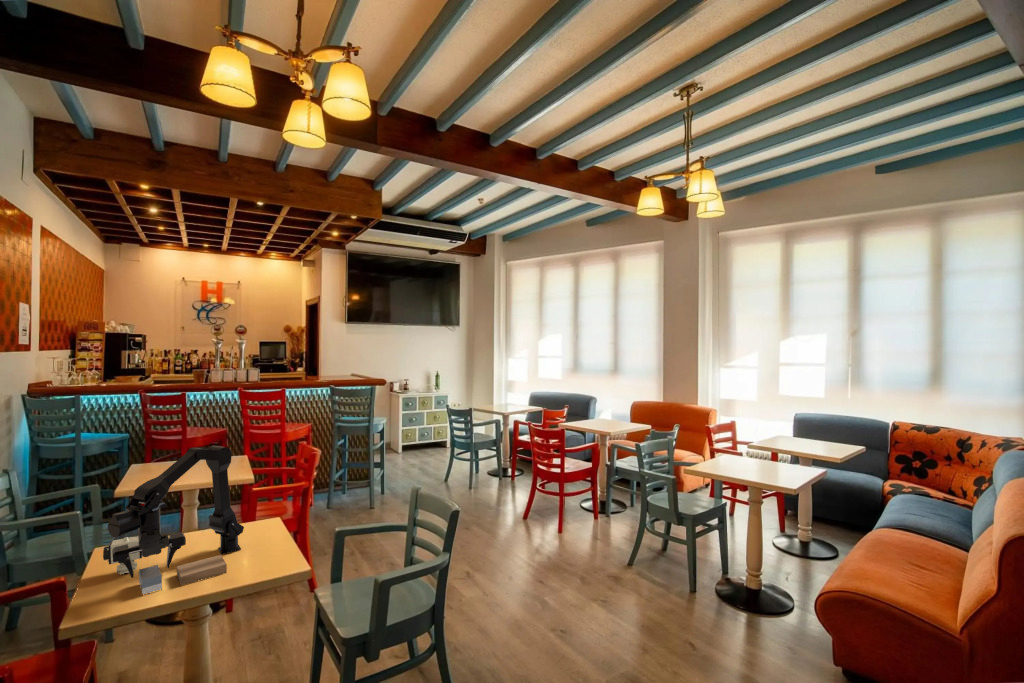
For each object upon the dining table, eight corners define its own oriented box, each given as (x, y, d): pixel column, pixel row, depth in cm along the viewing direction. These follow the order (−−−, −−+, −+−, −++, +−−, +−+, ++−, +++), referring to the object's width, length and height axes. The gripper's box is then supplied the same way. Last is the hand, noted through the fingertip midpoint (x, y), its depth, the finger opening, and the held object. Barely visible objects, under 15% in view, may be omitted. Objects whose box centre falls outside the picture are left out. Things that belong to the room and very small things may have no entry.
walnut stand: (176, 575, 167) (176, 566, 167) (221, 563, 176) (220, 554, 176) (180, 586, 161) (180, 576, 160) (226, 572, 169) (226, 564, 169)
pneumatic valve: (147, 570, 170) (146, 536, 170) (103, 579, 164) (102, 543, 164) (149, 564, 175) (148, 530, 174) (106, 572, 169) (105, 537, 168)
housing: (139, 584, 162) (138, 569, 161) (158, 579, 165) (157, 564, 165) (142, 596, 155) (142, 580, 155) (162, 590, 158) (161, 575, 158)
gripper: (113, 541, 147) (114, 593, 148) (187, 524, 159) (188, 572, 160) (111, 529, 155) (112, 578, 156) (182, 514, 168) (183, 560, 168)
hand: (150, 572), depth 160 cm, fingers open, 9 cm apart
